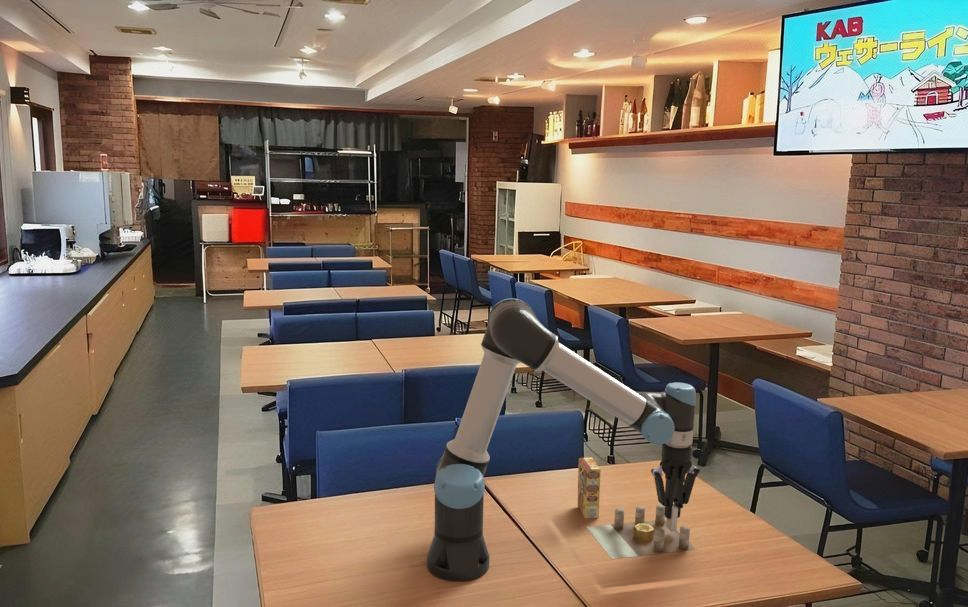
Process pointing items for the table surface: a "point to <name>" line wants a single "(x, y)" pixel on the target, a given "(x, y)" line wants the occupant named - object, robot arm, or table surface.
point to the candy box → (588, 487)
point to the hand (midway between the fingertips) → (671, 528)
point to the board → (624, 544)
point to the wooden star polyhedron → (643, 532)
